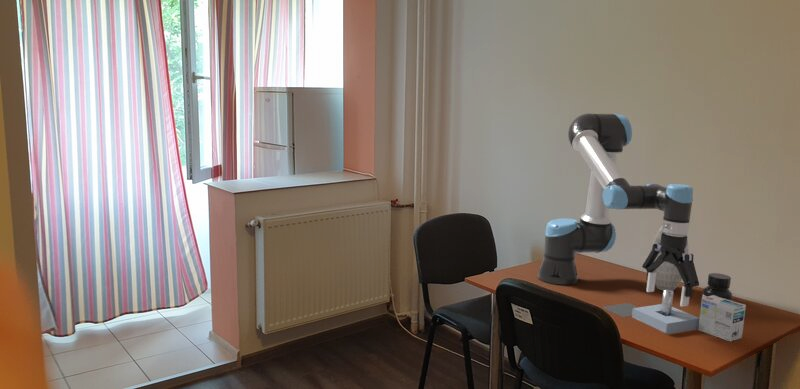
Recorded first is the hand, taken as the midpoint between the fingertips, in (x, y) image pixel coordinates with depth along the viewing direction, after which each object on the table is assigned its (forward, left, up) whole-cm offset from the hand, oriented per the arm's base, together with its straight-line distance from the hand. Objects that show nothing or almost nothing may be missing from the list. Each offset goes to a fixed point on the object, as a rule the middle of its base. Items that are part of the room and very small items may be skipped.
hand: (666, 298), depth 198 cm
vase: (-26, +29, -8) cm, 40 cm away
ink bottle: (-4, +28, -8) cm, 29 cm away
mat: (-13, -4, -8) cm, 16 cm away
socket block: (0, 0, -8) cm, 8 cm away
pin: (0, 0, -8) cm, 8 cm away
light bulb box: (+13, +9, -8) cm, 18 cm away
